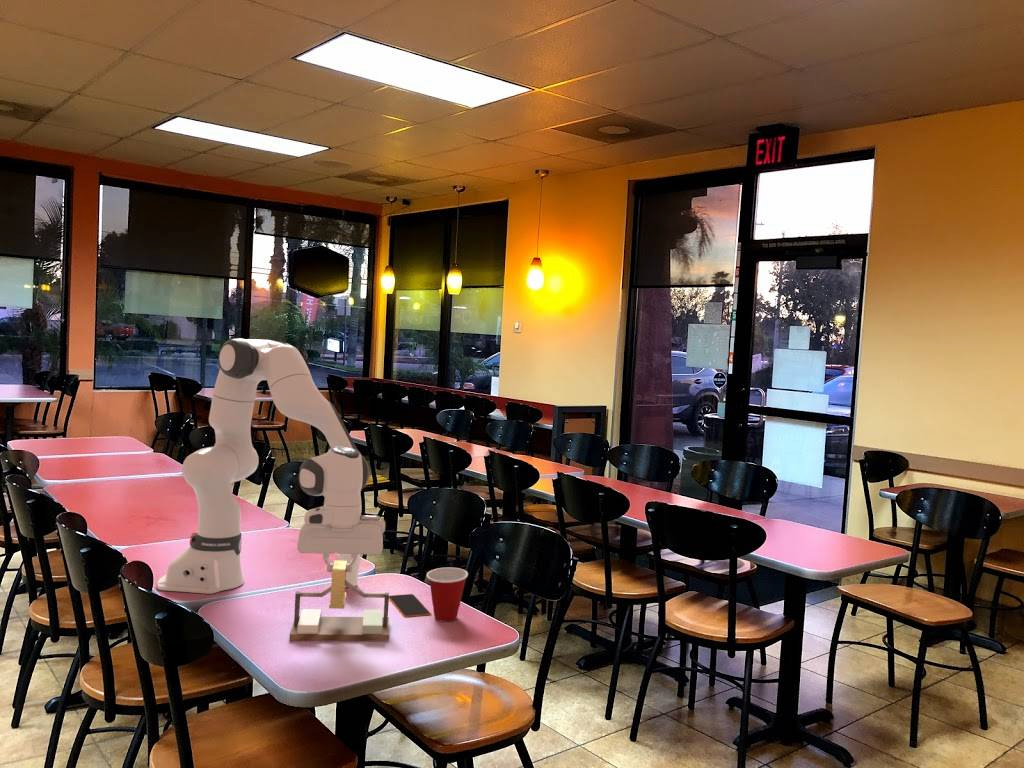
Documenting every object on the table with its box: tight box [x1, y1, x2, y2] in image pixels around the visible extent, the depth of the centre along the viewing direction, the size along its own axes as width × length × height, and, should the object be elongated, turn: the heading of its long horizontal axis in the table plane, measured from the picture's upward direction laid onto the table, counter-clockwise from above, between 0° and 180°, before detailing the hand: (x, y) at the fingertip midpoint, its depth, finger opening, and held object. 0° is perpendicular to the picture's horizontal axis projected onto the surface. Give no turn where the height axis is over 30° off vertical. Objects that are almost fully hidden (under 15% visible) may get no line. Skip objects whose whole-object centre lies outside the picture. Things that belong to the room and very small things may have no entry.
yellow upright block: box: [328, 559, 347, 610], centre depth 197 cm, size 4×9×9 cm, turn 9°
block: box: [297, 608, 322, 634], centre depth 197 cm, size 5×11×2 cm, turn 9°
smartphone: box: [389, 593, 432, 618], centre depth 220 cm, size 8×17×1 cm, turn 24°
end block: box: [362, 609, 383, 634], centre depth 199 cm, size 5×11×2 cm, turn 9°
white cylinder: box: [337, 554, 362, 588], centre depth 233 cm, size 7×7×15 cm
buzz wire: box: [288, 580, 390, 642], centre depth 198 cm, size 23×12×13 cm, turn 99°
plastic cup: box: [426, 566, 469, 622], centre depth 212 cm, size 11×11×12 cm
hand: (339, 571), depth 197 cm, fingers closed on yellow upright block, 3 cm apart
